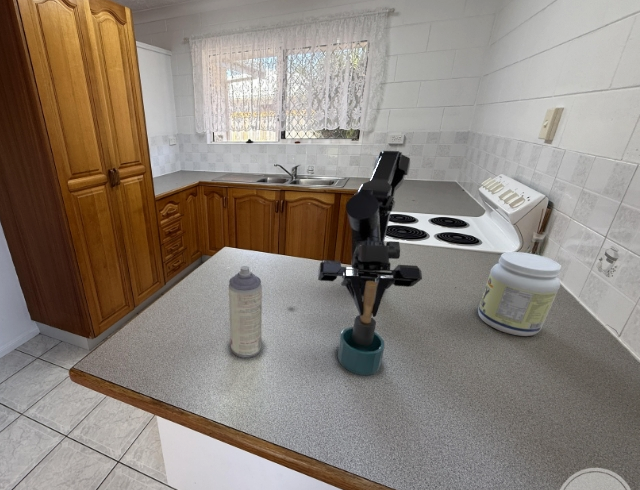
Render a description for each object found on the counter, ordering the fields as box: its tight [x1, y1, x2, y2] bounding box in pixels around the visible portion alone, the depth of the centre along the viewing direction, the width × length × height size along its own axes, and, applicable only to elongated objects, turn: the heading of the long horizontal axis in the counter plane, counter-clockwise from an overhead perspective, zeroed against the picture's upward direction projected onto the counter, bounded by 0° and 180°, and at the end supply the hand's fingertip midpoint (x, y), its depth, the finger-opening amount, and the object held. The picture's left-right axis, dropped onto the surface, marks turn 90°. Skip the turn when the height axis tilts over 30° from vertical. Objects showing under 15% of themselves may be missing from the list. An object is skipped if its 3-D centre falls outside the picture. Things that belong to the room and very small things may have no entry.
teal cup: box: [337, 326, 385, 376], centre depth 65 cm, size 8×8×6 cm
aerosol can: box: [228, 265, 263, 359], centre depth 66 cm, size 7×7×20 cm
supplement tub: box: [477, 251, 562, 337], centre depth 74 cm, size 12×12×17 cm
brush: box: [352, 281, 377, 345], centre depth 61 cm, size 4×4×13 cm
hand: (367, 315), depth 60 cm, fingers closed on brush, 2 cm apart
